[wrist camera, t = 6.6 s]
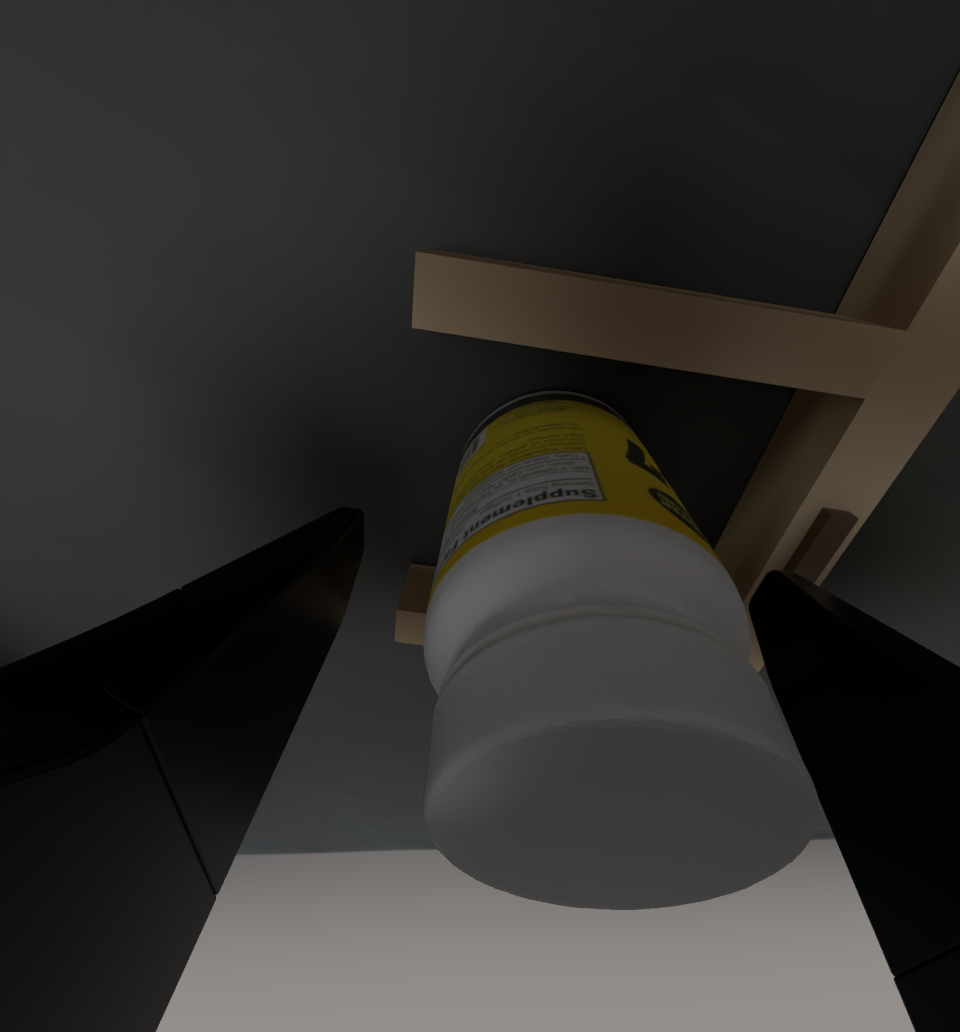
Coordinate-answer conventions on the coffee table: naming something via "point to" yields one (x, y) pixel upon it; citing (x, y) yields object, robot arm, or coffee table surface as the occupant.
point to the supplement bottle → (596, 679)
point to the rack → (759, 366)
